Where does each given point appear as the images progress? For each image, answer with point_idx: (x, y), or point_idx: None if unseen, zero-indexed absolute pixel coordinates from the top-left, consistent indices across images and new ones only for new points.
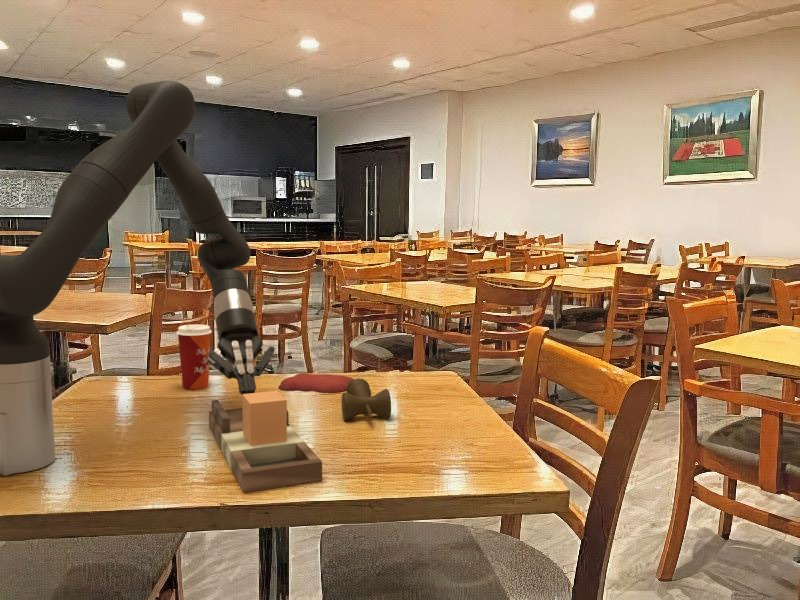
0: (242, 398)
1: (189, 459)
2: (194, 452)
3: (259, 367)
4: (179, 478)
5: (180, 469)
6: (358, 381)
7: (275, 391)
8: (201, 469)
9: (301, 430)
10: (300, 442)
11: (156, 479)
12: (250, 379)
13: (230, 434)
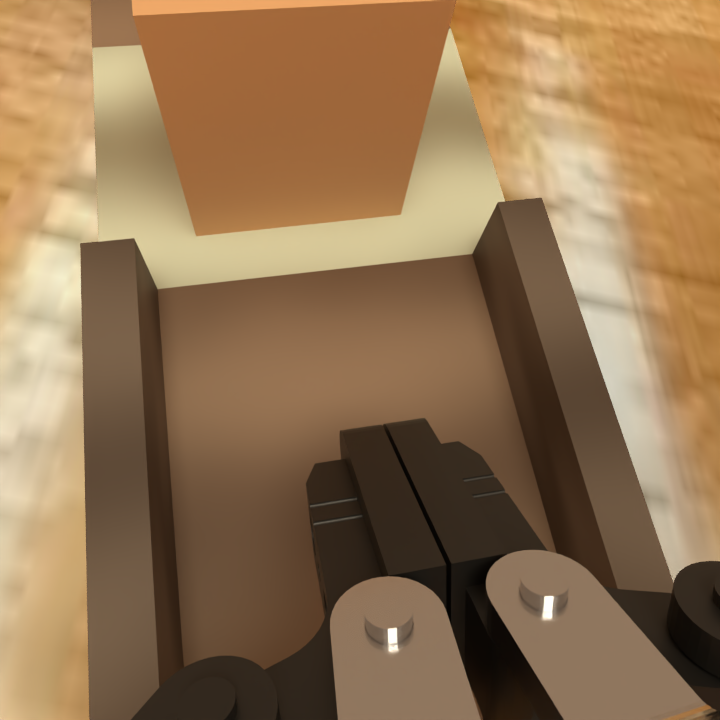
0: (447, 31)
1: (617, 228)
2: (614, 303)
3: (217, 676)
4: (611, 72)
5: (628, 141)
6: None
7: (155, 3)
8: (548, 123)
9: (3, 533)
10: (115, 45)
11: (689, 83)
12: (378, 512)
13: (468, 224)
